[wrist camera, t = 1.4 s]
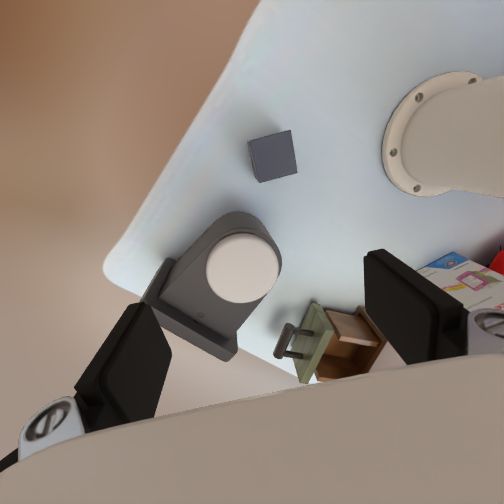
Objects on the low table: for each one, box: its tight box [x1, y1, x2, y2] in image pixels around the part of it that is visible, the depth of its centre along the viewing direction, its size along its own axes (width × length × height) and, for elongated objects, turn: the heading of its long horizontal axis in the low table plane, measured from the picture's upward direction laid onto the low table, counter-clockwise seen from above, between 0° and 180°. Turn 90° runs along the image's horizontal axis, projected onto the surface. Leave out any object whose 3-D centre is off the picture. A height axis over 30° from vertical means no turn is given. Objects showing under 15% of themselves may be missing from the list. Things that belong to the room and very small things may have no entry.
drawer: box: [273, 302, 382, 384], centre depth 35 cm, size 14×9×6 cm, turn 74°
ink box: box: [416, 252, 504, 312], centre depth 30 cm, size 9×5×12 cm, turn 122°
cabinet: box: [354, 306, 407, 374], centre depth 36 cm, size 11×10×7 cm
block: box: [247, 130, 297, 183], centre depth 26 cm, size 4×4×4 cm
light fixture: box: [140, 211, 282, 362], centre depth 27 cm, size 11×13×11 cm
